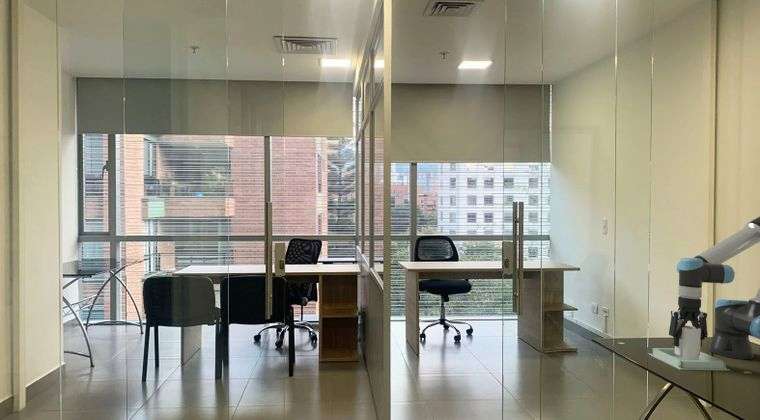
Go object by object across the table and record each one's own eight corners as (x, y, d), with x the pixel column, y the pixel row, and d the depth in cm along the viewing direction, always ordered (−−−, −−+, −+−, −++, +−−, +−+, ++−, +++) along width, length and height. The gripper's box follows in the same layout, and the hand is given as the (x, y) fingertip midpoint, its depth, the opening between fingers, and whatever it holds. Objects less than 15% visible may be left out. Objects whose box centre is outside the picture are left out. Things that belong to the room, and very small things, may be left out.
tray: (693, 355, 186) (693, 348, 186) (730, 370, 168) (730, 362, 168) (647, 354, 185) (648, 347, 185) (679, 369, 167) (680, 362, 167)
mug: (699, 361, 171) (701, 330, 171) (678, 358, 174) (680, 327, 174) (698, 355, 179) (699, 326, 179) (678, 352, 183) (679, 323, 183)
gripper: (705, 295, 181) (703, 352, 181) (659, 294, 180) (656, 351, 180) (721, 299, 174) (718, 358, 174) (672, 298, 172) (670, 357, 172)
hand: (687, 354), depth 177 cm, fingers closed on mug, 7 cm apart
